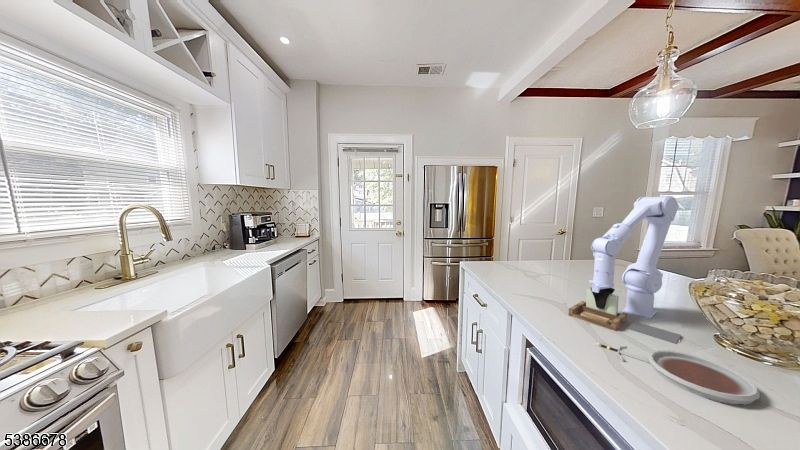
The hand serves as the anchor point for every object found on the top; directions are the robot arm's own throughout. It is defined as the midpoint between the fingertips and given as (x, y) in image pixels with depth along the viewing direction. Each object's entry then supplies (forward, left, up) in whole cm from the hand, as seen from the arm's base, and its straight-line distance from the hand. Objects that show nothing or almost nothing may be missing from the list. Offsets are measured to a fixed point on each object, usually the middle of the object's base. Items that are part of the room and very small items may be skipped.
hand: (601, 307), depth 92 cm
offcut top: (+6, 0, -3) cm, 7 cm away
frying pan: (+22, +20, -4) cm, 30 cm away
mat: (+1, +14, -3) cm, 14 cm away
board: (0, 0, -3) cm, 3 cm away
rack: (+4, 0, -3) cm, 5 cm away
